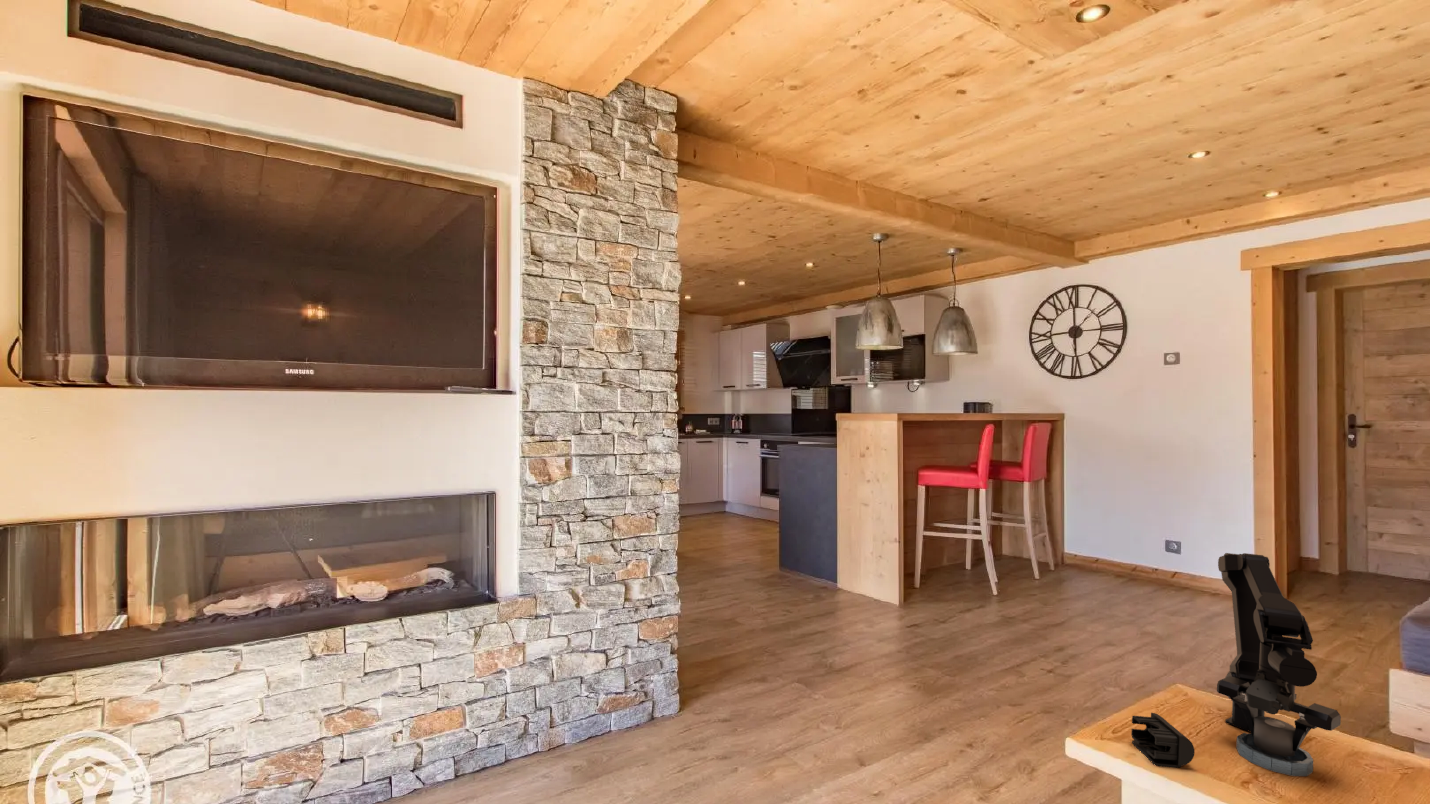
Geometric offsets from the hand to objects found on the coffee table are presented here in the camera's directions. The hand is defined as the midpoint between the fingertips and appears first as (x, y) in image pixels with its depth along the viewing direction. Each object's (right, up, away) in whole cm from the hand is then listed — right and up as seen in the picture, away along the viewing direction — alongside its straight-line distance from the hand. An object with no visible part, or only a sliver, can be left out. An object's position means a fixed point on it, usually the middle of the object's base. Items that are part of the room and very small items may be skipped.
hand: (1274, 742), depth 134 cm
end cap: (-23, -3, 0) cm, 24 cm away
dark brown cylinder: (0, -1, 0) cm, 1 cm away
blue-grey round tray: (0, -4, 0) cm, 4 cm away
